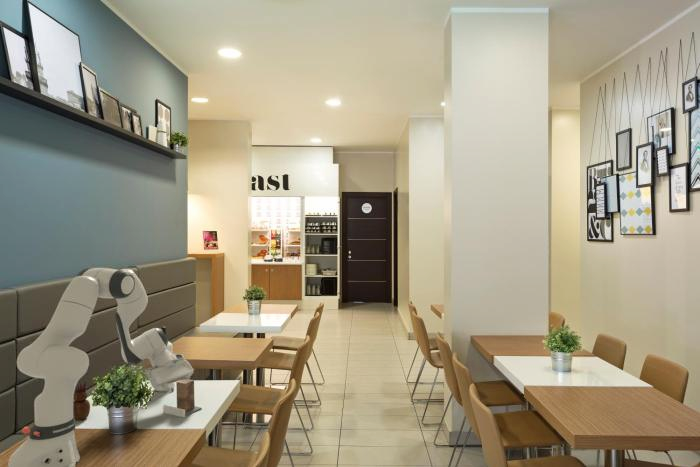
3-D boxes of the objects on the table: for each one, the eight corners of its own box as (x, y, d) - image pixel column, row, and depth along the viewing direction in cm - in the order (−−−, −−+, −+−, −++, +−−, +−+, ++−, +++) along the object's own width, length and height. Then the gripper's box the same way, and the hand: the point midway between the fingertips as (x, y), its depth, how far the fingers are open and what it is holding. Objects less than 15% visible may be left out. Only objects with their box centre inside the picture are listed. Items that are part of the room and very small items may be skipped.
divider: (183, 417, 206) (183, 410, 206) (163, 412, 212) (163, 405, 212) (185, 416, 206) (184, 409, 206) (164, 412, 212) (164, 404, 212)
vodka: (172, 391, 239) (171, 328, 239) (151, 392, 238) (150, 329, 237) (176, 385, 248) (175, 324, 248) (156, 386, 247) (155, 325, 247)
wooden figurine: (93, 416, 209) (92, 380, 209) (84, 421, 203) (83, 384, 203) (77, 415, 210) (76, 379, 209) (68, 421, 204) (67, 384, 204)
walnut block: (185, 412, 210) (184, 383, 210) (177, 410, 212) (176, 381, 212) (194, 408, 214) (194, 380, 214) (186, 406, 217) (185, 378, 217)
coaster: (185, 416, 207) (185, 414, 207) (170, 412, 212) (170, 411, 212) (201, 409, 215) (201, 407, 215) (186, 405, 219) (186, 404, 219)
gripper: (147, 364, 209) (164, 391, 205) (185, 353, 227) (202, 378, 222) (140, 374, 212) (157, 401, 207) (179, 362, 229) (195, 386, 225)
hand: (180, 389), depth 215 cm, fingers open, 8 cm apart
